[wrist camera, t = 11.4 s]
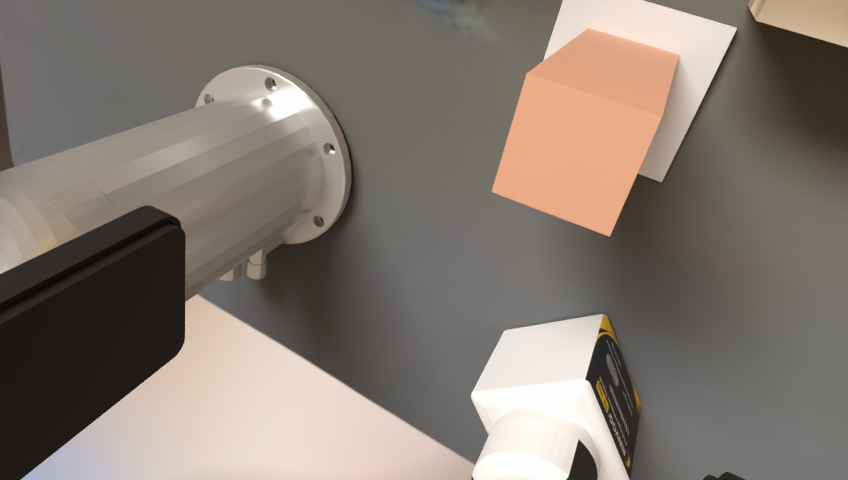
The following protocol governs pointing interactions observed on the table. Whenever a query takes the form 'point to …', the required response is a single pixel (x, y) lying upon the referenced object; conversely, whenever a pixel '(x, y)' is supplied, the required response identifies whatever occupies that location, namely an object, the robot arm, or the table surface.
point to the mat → (665, 29)
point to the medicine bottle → (557, 404)
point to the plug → (585, 128)
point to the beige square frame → (806, 17)
